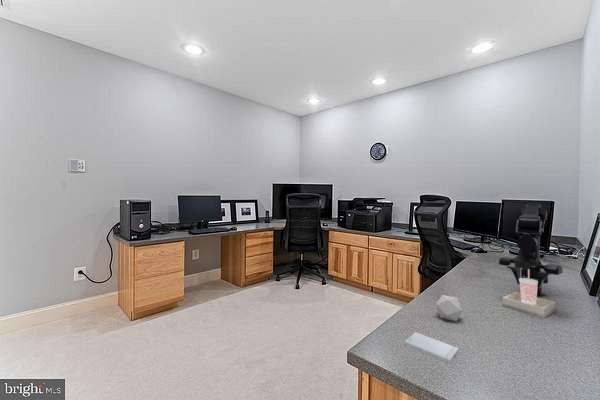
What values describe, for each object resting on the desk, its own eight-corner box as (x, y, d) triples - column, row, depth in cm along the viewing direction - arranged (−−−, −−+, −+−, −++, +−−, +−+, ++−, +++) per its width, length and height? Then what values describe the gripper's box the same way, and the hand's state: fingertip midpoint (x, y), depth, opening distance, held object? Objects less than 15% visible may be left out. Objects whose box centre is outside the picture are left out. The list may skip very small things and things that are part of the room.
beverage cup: (514, 299, 109) (515, 265, 109) (529, 299, 109) (530, 266, 109) (527, 305, 103) (527, 269, 103) (542, 305, 103) (543, 270, 103)
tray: (515, 299, 115) (515, 291, 115) (555, 310, 104) (555, 301, 104) (502, 306, 108) (502, 297, 108) (543, 318, 97) (544, 308, 97)
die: (464, 319, 97) (450, 293, 102) (470, 316, 90) (455, 289, 95) (443, 326, 98) (429, 300, 103) (447, 323, 91) (432, 296, 96)
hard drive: (404, 341, 79) (450, 359, 70) (415, 331, 84) (459, 347, 75) (404, 346, 79) (450, 365, 70) (415, 336, 84) (459, 353, 75)
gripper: (493, 246, 109) (493, 283, 110) (553, 254, 94) (553, 297, 94) (504, 243, 115) (504, 279, 116) (563, 251, 100) (562, 291, 100)
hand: (528, 286), depth 106 cm, fingers closed on beverage cup, 6 cm apart
